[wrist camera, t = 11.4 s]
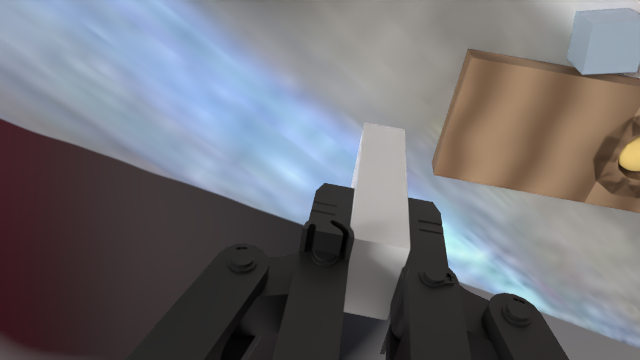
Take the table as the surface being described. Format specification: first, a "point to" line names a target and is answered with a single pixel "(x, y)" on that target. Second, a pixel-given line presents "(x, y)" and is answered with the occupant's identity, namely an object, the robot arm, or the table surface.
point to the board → (542, 130)
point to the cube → (605, 41)
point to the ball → (631, 155)
